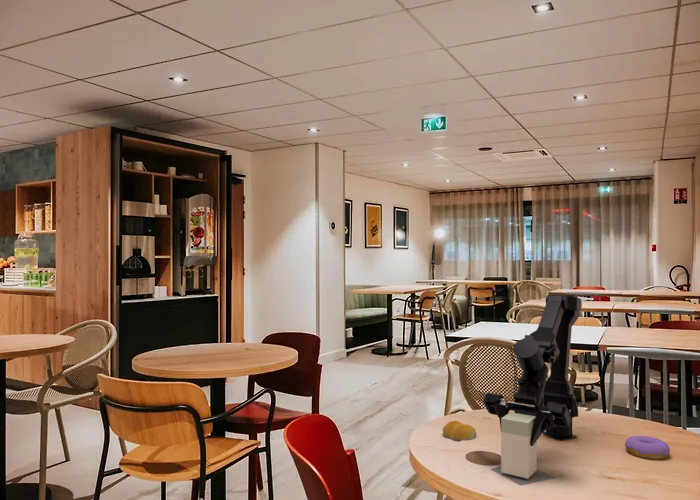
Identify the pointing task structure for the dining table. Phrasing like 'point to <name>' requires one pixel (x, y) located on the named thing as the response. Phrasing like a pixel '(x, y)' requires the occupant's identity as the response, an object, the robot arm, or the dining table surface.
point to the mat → (535, 477)
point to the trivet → (484, 458)
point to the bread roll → (459, 431)
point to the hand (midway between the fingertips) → (516, 442)
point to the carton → (518, 445)
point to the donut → (647, 447)
